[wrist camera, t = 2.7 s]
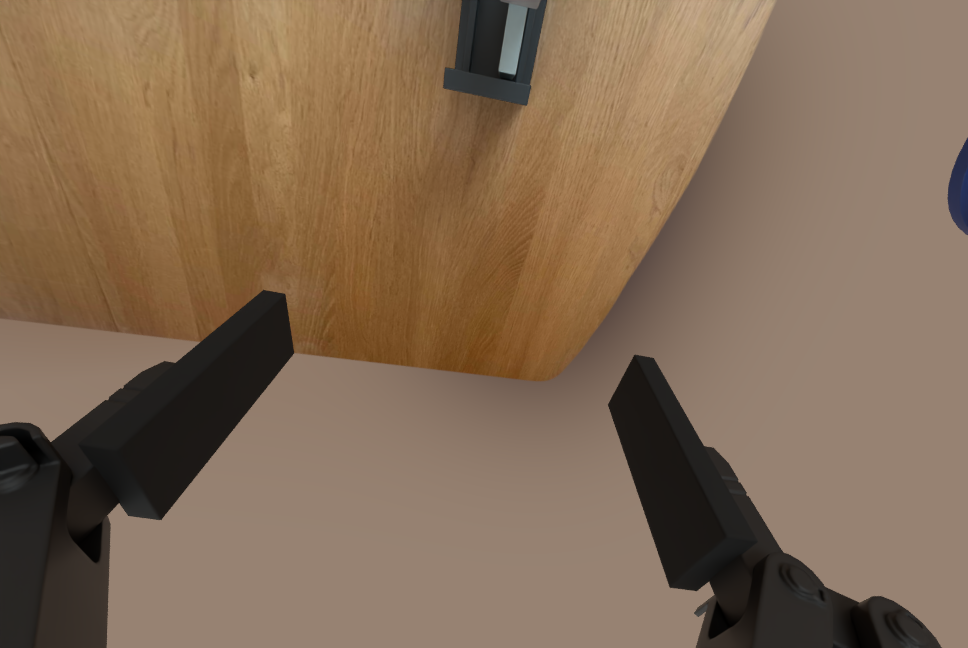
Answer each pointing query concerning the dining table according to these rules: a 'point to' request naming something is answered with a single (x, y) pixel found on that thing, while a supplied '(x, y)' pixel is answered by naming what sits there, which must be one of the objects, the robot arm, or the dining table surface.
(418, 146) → the dining table surface
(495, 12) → the window frame
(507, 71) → the pane
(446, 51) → the dining table surface
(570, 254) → the dining table surface
